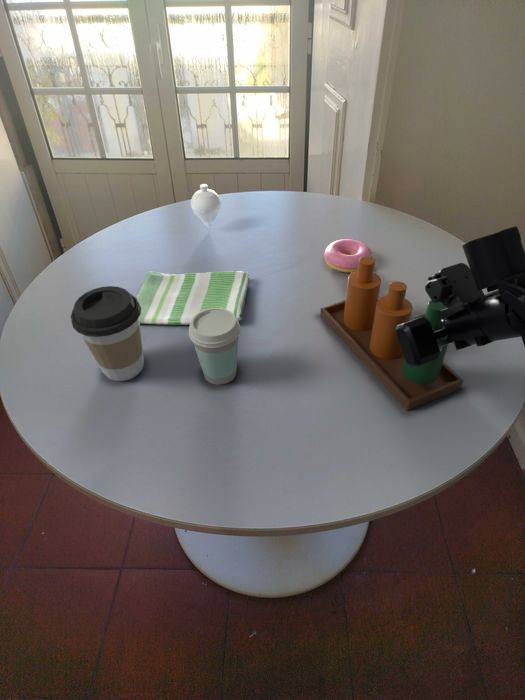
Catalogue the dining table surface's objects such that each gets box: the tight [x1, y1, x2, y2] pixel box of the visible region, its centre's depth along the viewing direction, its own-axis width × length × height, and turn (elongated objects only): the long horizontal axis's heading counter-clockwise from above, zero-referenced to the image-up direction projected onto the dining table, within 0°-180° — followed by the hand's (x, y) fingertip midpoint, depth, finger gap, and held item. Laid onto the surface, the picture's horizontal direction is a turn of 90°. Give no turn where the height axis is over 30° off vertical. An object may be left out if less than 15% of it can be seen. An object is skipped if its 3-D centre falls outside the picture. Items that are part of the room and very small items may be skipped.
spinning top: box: [190, 183, 222, 230], centre depth 120 cm, size 8×8×12 cm
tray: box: [319, 299, 464, 412], centre depth 87 cm, size 28×11×2 cm, turn 25°
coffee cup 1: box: [70, 285, 145, 382], centre depth 81 cm, size 11×11×15 cm
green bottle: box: [402, 299, 449, 384], centre depth 75 cm, size 6×6×14 cm
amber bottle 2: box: [370, 280, 413, 359], centre depth 82 cm, size 6×6×14 cm
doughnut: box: [323, 238, 373, 273], centre depth 109 cm, size 11×11×4 cm
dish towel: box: [135, 270, 250, 326], centre depth 100 cm, size 18×23×3 cm
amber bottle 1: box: [344, 256, 382, 331], centre depth 88 cm, size 6×6×14 cm
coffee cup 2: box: [188, 308, 241, 386], centre depth 80 cm, size 8×8×12 cm
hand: (423, 334), depth 75 cm, fingers closed on green bottle, 6 cm apart
